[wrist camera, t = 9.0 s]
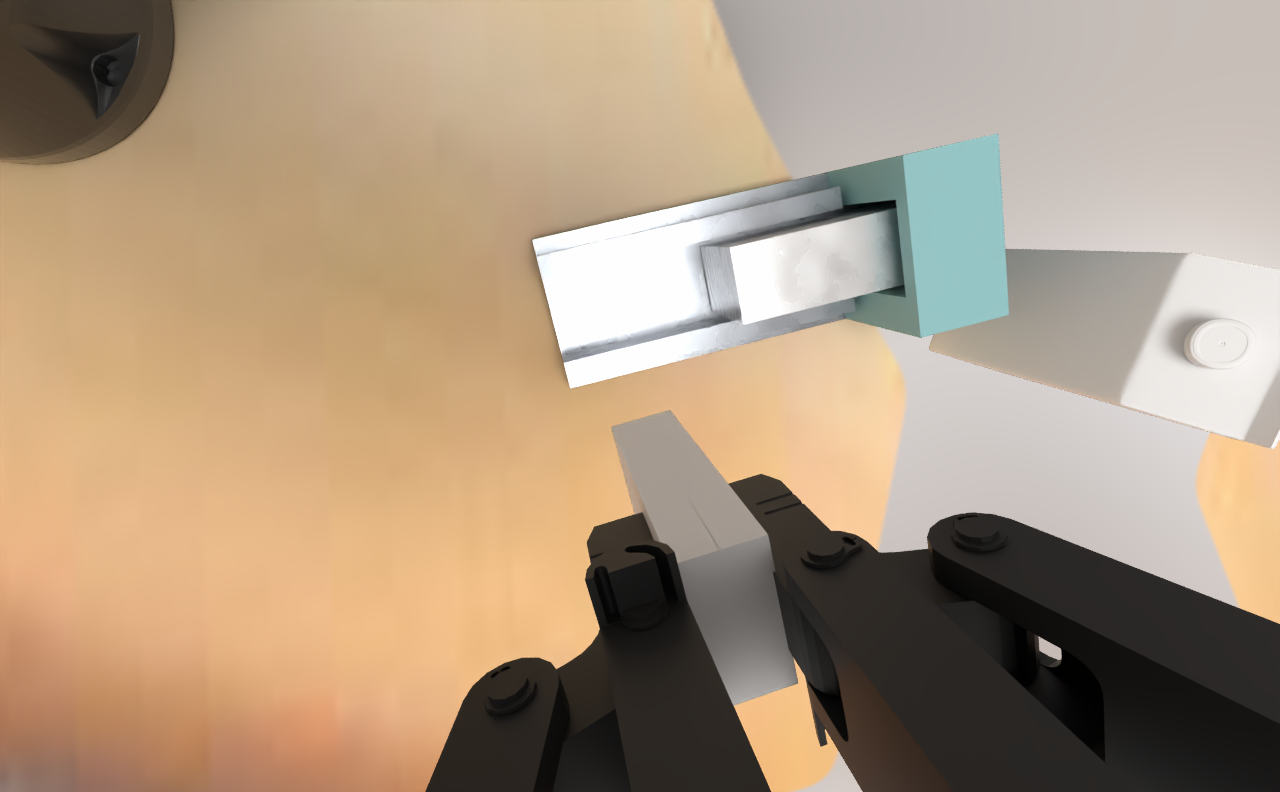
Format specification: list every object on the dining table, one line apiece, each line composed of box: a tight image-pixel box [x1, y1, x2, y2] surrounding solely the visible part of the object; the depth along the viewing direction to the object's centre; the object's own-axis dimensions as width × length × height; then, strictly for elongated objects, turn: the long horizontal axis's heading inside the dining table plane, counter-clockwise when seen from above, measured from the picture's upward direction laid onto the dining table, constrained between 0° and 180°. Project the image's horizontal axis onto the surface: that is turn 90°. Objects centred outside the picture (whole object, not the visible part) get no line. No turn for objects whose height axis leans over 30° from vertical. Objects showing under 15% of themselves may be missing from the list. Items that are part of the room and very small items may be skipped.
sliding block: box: [700, 200, 905, 325], centre depth 36 cm, size 4×12×6 cm, turn 102°
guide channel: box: [532, 172, 882, 388], centre depth 38 cm, size 9×23×4 cm, turn 102°
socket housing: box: [827, 134, 1009, 338], centre depth 36 cm, size 9×5×8 cm, turn 12°
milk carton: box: [929, 249, 1280, 449], centre depth 35 cm, size 7×7×19 cm
